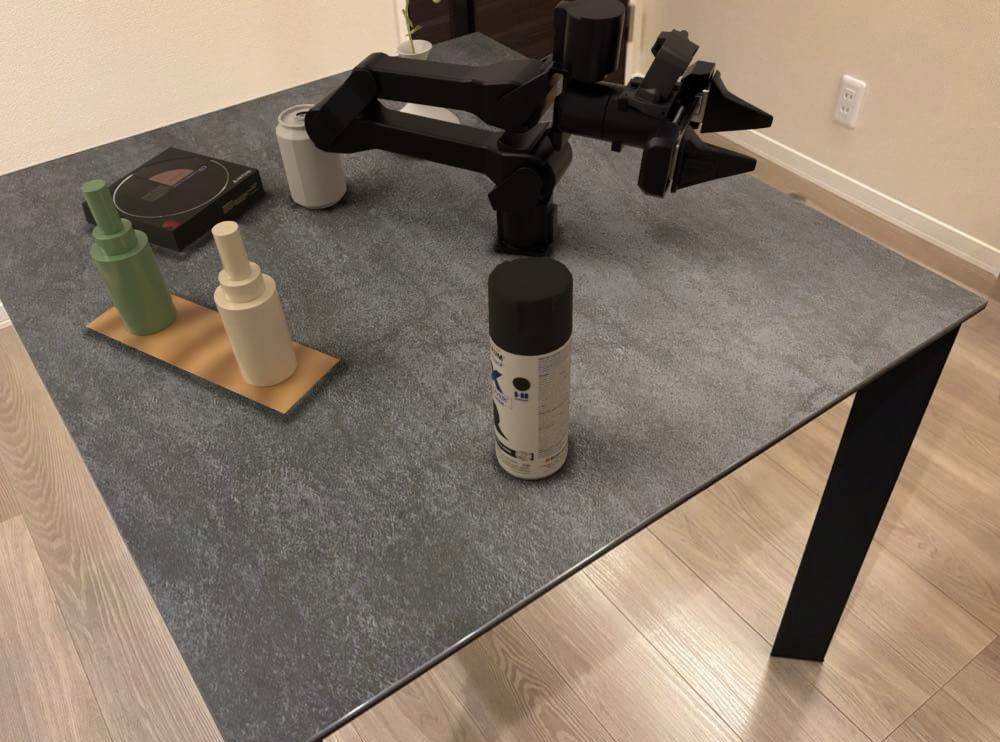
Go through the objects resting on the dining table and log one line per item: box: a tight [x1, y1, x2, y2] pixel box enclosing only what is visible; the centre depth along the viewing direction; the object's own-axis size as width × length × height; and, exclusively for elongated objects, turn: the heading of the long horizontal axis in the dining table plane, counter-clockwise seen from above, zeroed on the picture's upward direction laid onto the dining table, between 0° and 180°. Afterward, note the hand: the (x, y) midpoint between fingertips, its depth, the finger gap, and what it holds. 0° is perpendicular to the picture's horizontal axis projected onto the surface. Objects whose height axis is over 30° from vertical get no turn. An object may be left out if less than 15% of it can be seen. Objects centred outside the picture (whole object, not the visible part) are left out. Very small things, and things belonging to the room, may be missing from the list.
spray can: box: [487, 255, 574, 481], centre depth 70 cm, size 7×7×20 cm
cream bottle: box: [211, 220, 298, 387], centre depth 81 cm, size 6×6×17 cm
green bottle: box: [80, 178, 177, 336], centre depth 88 cm, size 6×6×17 cm
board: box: [85, 293, 341, 415], centre depth 91 cm, size 30×9×1 cm, turn 58°
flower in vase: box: [394, 0, 461, 124], centre depth 113 cm, size 13×11×25 cm
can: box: [275, 103, 347, 210], centre depth 108 cm, size 8×8×12 cm
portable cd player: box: [81, 146, 266, 253], centre depth 111 cm, size 16×17×4 cm
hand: (764, 142), depth 81 cm, fingers open, 9 cm apart
